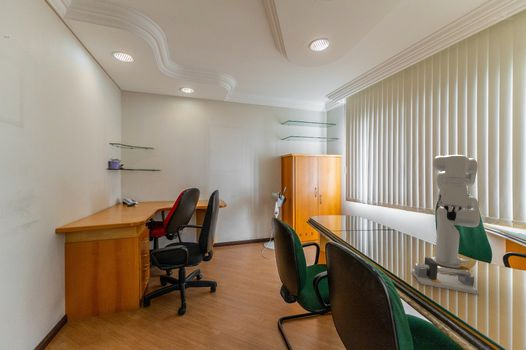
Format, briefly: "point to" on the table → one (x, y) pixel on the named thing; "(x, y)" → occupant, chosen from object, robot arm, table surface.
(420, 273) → the pipe jig
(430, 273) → the collar
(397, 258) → the table surface
